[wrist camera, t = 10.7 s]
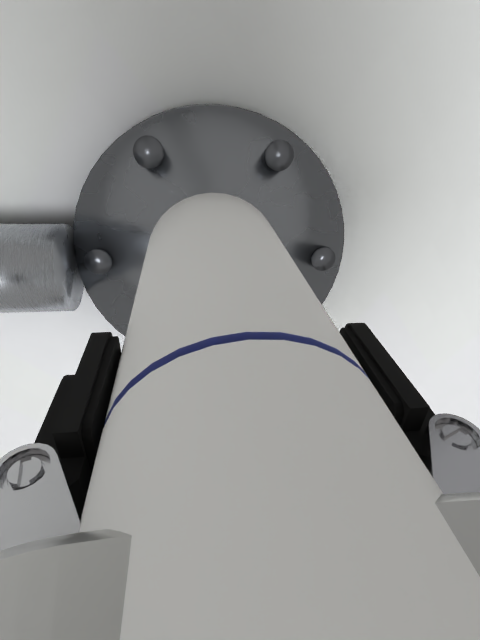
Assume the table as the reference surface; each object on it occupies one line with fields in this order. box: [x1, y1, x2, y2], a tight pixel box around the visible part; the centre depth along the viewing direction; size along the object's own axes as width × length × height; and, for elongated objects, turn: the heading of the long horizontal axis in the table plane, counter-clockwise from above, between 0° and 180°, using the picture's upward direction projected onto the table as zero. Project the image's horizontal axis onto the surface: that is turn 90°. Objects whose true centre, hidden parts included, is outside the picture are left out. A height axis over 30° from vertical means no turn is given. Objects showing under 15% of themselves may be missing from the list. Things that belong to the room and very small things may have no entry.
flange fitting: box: [0, 104, 344, 337], centre depth 19 cm, size 23×15×6 cm, turn 88°
